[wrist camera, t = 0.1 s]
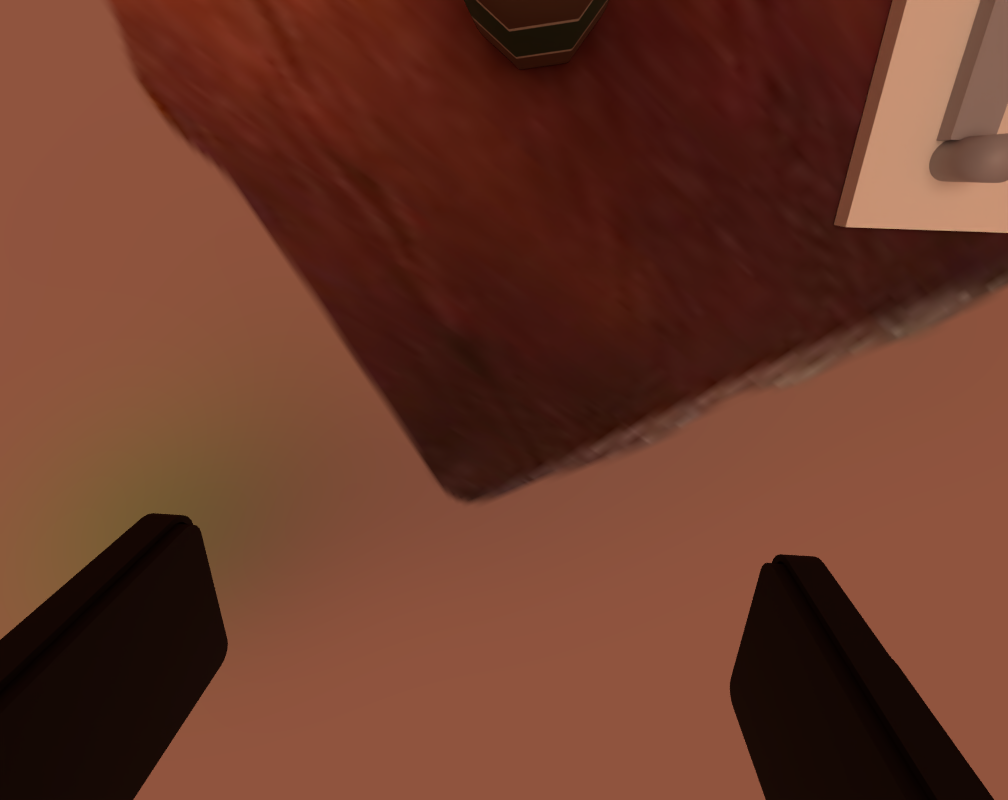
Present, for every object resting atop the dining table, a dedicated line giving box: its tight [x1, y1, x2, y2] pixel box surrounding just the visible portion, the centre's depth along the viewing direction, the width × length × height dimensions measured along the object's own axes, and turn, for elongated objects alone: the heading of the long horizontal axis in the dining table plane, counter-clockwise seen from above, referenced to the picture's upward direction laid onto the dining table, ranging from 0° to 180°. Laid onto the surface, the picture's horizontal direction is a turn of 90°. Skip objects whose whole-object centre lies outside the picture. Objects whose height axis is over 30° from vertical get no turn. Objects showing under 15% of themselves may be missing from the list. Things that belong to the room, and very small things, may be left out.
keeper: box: [834, 0, 1008, 233], centre depth 29 cm, size 14×10×6 cm
